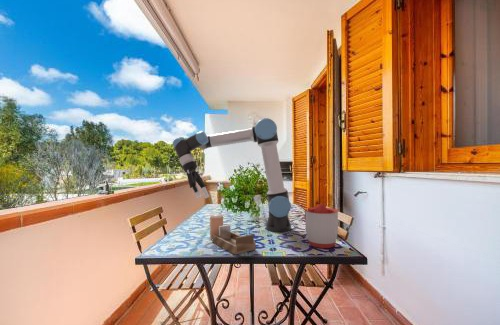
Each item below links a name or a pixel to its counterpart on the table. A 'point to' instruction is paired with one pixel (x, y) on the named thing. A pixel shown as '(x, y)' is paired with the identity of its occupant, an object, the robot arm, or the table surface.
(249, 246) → the tray
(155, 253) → the table surface
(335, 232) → the citrus juicer
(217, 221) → the jar
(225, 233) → the pusher
